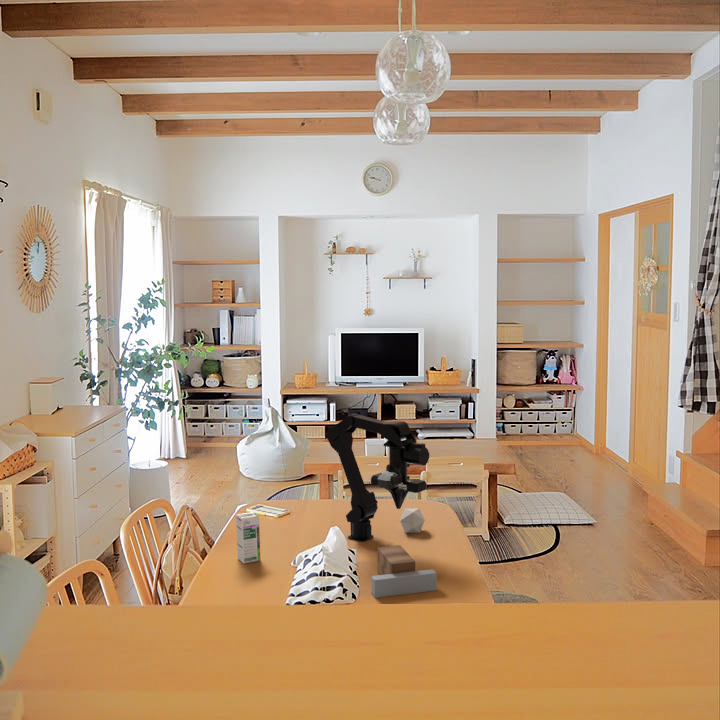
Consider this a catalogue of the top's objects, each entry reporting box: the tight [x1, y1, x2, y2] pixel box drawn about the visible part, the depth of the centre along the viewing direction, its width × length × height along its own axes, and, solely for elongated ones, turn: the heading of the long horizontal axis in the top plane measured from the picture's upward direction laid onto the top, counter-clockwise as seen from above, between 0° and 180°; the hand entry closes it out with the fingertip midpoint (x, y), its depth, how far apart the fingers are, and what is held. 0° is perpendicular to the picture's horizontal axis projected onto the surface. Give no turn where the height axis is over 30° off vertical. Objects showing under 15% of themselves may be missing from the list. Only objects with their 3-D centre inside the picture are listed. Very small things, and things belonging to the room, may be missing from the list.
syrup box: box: [235, 511, 261, 564], centre depth 239 cm, size 6×6×14 cm
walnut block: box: [377, 544, 416, 575], centre depth 221 cm, size 14×7×8 cm, turn 15°
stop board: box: [371, 568, 438, 599], centre depth 213 cm, size 3×18×5 cm, turn 105°
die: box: [399, 507, 426, 534], centre depth 264 cm, size 8×9×10 cm
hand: (398, 508), depth 247 cm, fingers closed
